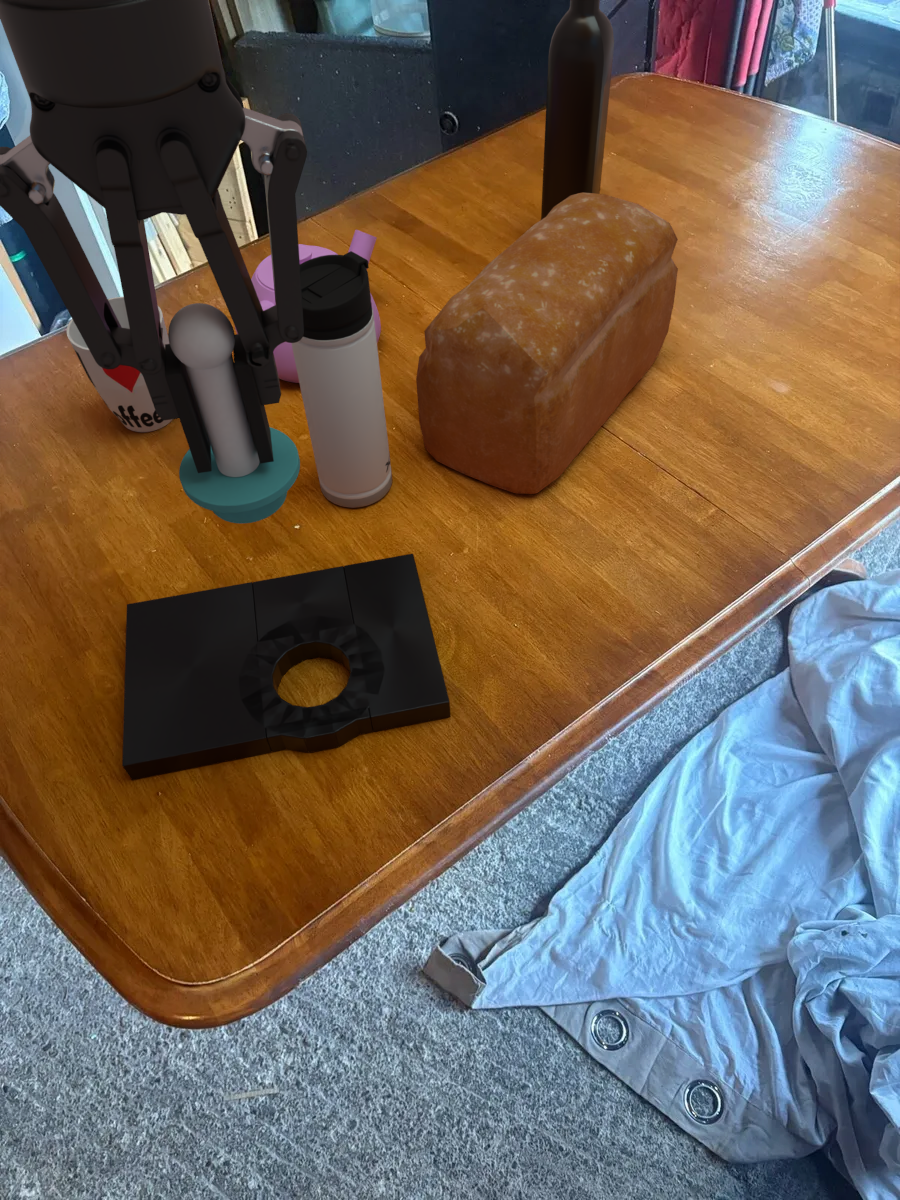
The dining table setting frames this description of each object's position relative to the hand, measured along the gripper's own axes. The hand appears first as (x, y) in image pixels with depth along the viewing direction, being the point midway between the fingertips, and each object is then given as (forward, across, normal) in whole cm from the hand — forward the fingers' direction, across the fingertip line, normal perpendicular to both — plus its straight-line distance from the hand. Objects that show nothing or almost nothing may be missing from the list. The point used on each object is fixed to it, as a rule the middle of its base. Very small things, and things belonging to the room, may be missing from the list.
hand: (234, 450), depth 50 cm
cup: (+21, -11, +31) cm, 39 cm away
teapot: (+21, +6, +38) cm, 44 cm away
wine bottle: (+20, +36, +52) cm, 66 cm away
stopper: (+4, 0, 0) cm, 4 cm away
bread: (+20, +26, +25) cm, 41 cm away
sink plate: (+20, -1, -1) cm, 20 cm away
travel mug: (+21, +7, +18) cm, 28 cm away
